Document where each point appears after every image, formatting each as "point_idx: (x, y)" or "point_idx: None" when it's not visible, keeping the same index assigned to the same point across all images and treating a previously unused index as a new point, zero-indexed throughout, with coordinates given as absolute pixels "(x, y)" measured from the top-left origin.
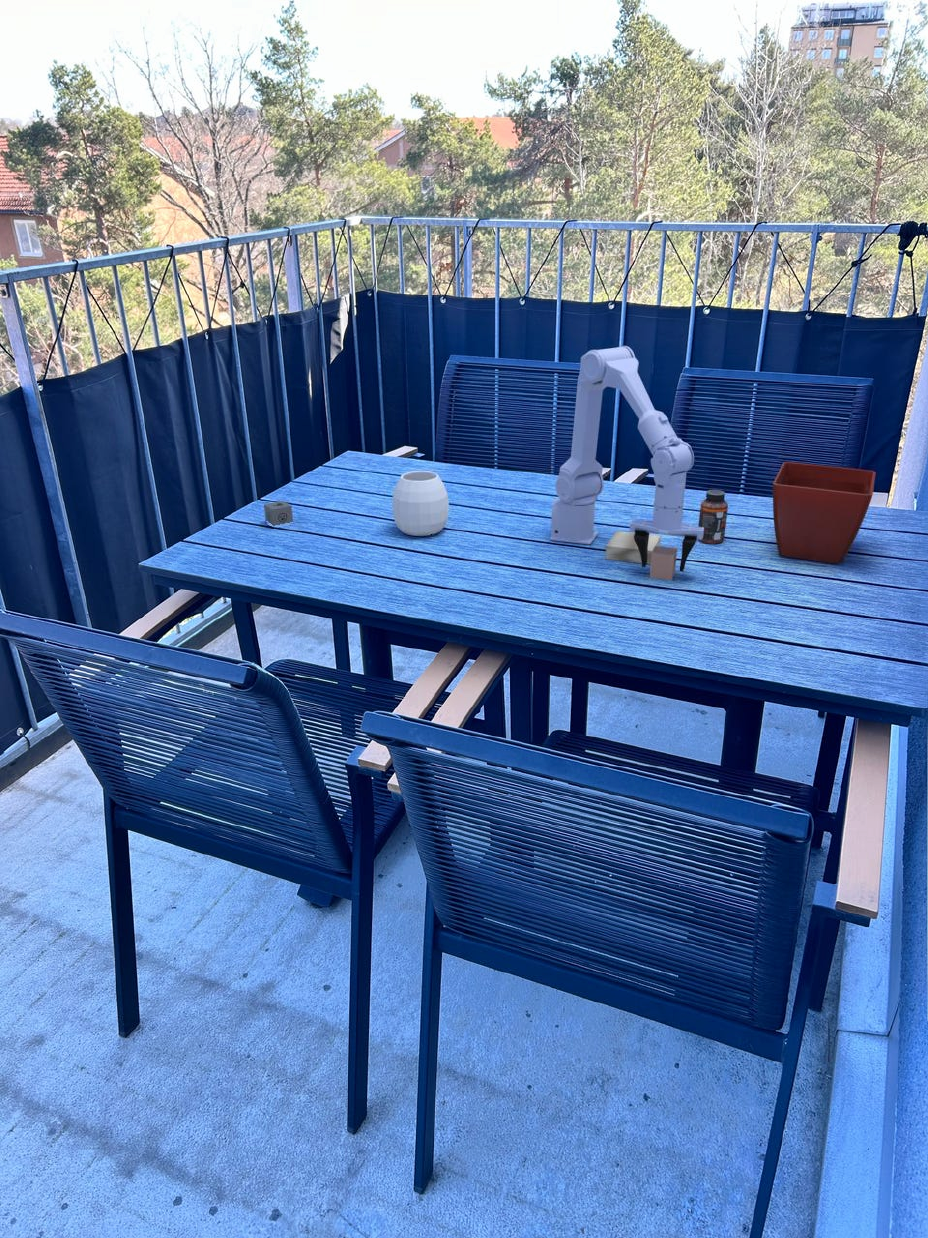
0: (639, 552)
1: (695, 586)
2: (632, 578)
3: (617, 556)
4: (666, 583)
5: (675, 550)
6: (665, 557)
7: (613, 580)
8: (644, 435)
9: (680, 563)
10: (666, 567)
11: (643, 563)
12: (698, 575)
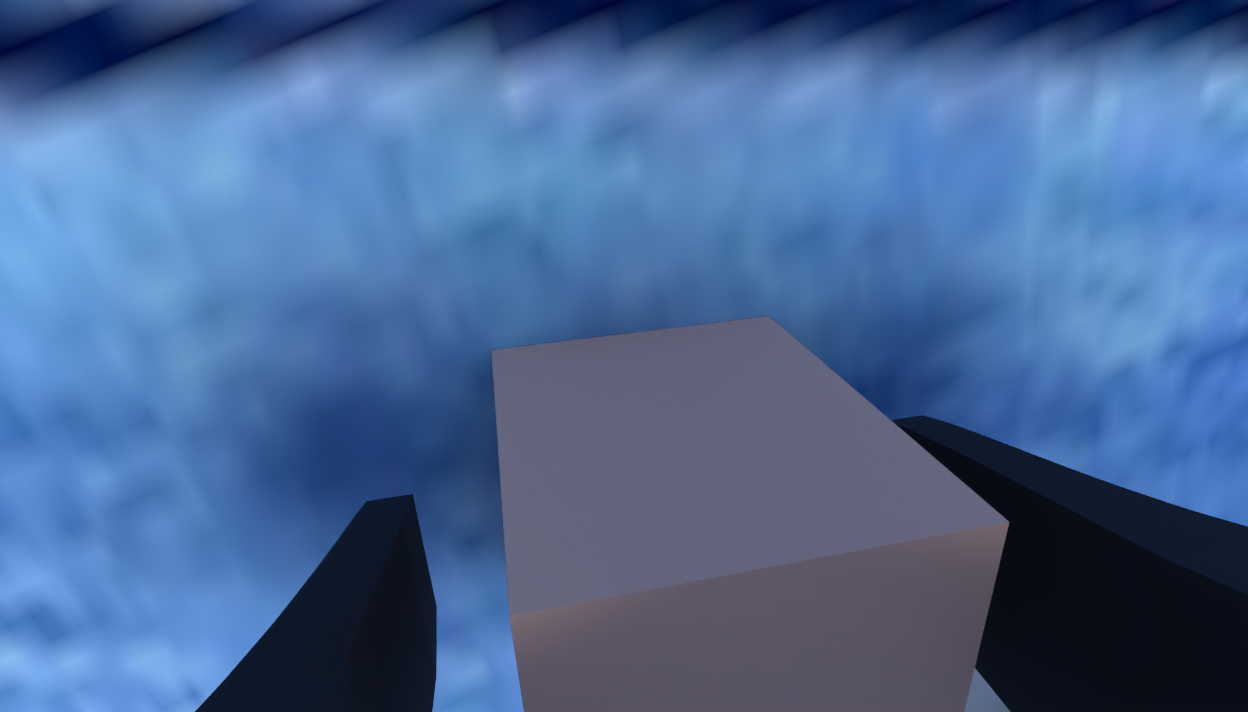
0: (987, 704)
1: (86, 278)
2: (961, 201)
3: None
4: (526, 215)
5: None
6: (686, 525)
7: (1182, 36)
8: None
9: (383, 564)
10: (604, 420)
11: (947, 431)
12: (231, 621)
